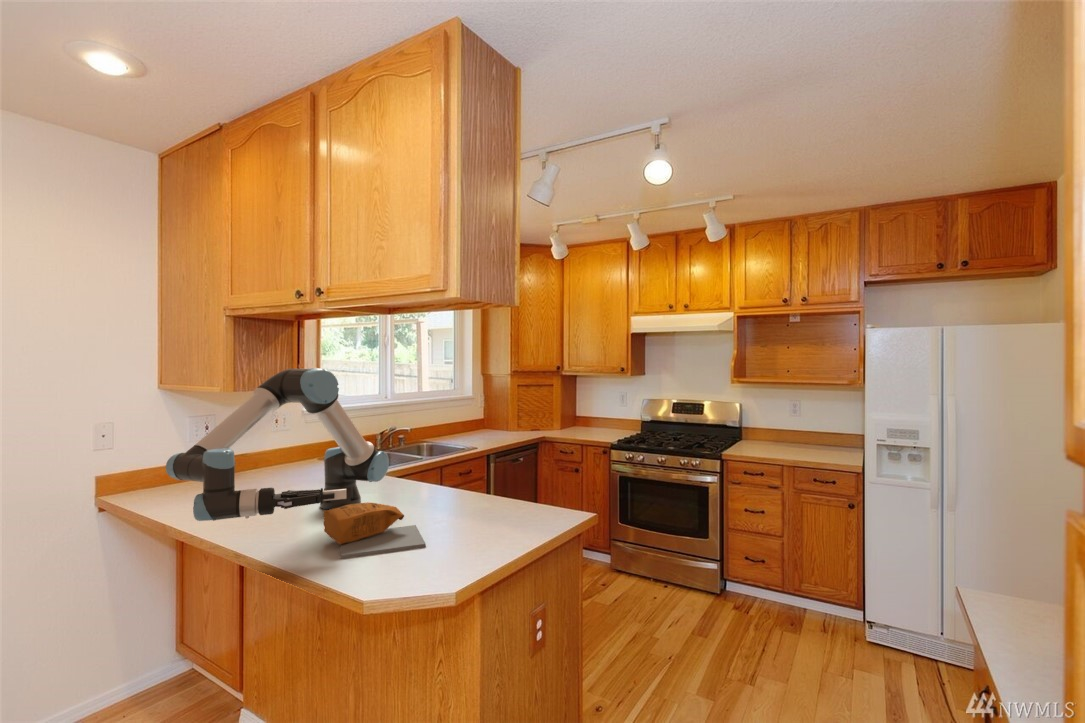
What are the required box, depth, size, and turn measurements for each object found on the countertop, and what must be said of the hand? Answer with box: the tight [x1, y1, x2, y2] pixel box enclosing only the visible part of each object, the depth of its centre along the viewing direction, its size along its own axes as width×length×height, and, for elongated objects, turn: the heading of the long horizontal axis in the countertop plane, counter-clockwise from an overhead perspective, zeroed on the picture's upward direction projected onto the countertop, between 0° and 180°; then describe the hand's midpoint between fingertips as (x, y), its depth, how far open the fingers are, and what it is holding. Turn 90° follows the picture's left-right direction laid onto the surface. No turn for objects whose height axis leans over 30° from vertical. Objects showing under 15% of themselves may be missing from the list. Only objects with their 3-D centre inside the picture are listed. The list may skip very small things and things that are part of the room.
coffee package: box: [323, 502, 405, 546], centre depth 165 cm, size 10×12×22 cm
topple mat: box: [339, 524, 427, 559], centre depth 161 cm, size 20×24×1 cm
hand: (346, 493), depth 157 cm, fingers closed
